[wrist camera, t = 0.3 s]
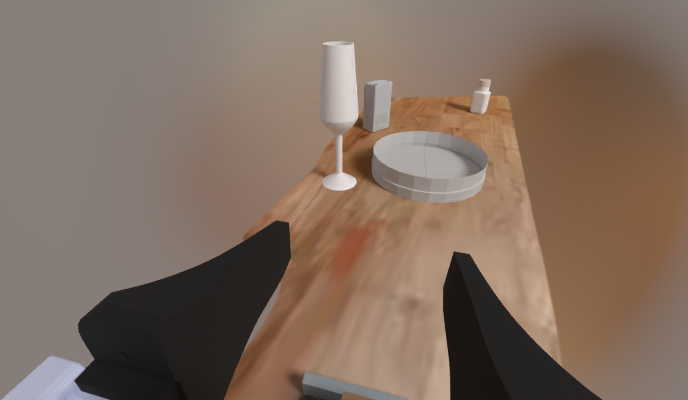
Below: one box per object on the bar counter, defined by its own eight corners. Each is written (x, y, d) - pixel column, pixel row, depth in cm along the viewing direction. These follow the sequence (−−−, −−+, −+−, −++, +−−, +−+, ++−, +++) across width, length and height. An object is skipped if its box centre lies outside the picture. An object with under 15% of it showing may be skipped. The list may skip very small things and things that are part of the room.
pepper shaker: (486, 112, 96) (494, 79, 91) (481, 115, 93) (489, 82, 88) (473, 109, 98) (480, 77, 93) (468, 112, 96) (475, 80, 90)
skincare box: (378, 123, 87) (381, 78, 80) (389, 128, 84) (393, 81, 77) (361, 128, 84) (363, 81, 77) (373, 133, 81) (375, 85, 74)
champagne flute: (327, 171, 63) (323, 40, 50) (359, 175, 62) (364, 41, 49) (317, 188, 58) (309, 45, 45) (352, 192, 57) (355, 47, 43)
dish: (364, 197, 56) (365, 173, 53) (375, 147, 74) (377, 127, 71) (494, 210, 53) (502, 185, 50) (473, 155, 71) (478, 134, 68)
